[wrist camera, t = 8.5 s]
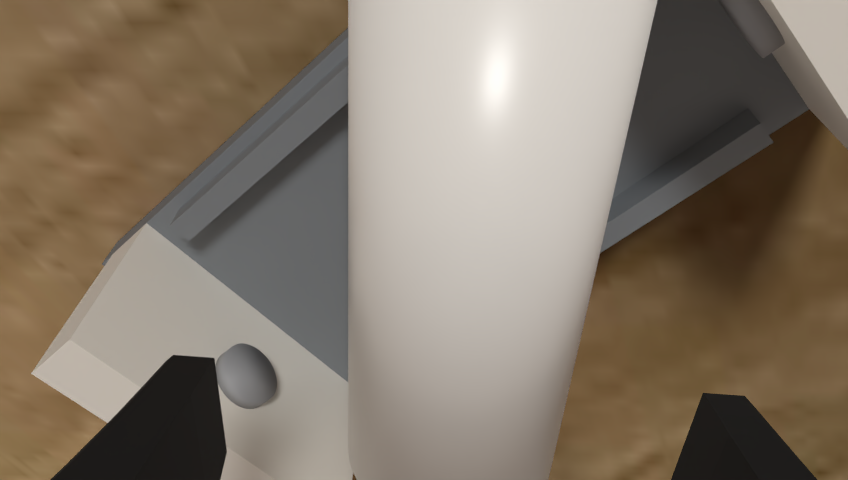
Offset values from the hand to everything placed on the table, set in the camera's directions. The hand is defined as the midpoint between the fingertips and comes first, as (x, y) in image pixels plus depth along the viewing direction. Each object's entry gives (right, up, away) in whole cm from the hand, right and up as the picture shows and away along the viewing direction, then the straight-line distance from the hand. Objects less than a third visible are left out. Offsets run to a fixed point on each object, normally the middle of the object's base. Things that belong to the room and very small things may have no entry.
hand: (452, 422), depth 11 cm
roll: (+1, +3, +4) cm, 5 cm away
